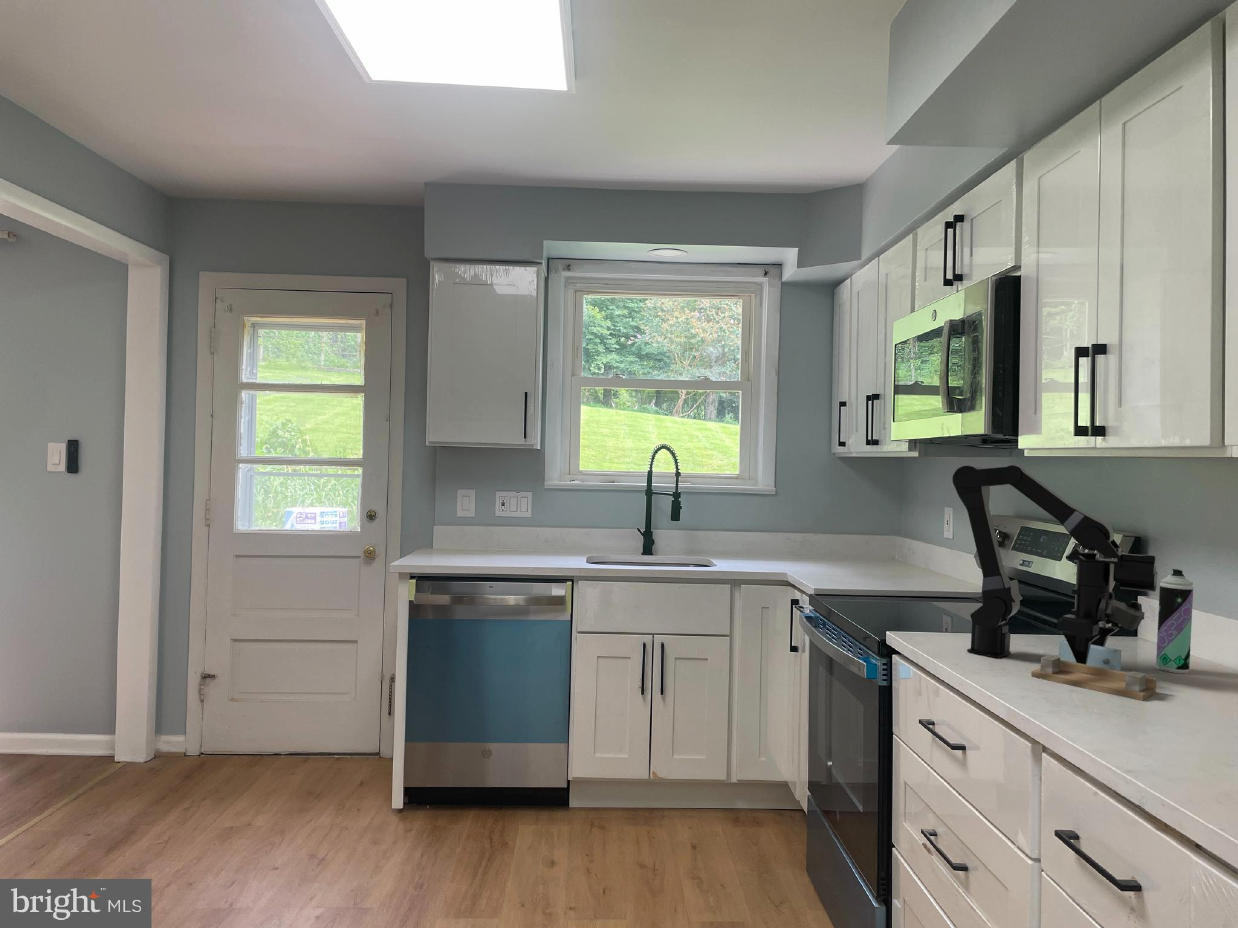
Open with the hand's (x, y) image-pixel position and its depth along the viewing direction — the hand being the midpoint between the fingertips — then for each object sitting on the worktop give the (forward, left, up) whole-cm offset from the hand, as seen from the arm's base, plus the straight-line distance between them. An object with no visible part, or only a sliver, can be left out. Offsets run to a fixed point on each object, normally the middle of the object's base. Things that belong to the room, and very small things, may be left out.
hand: (1088, 665), depth 158 cm
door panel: (0, 0, -1) cm, 1 cm away
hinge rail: (+4, -11, -1) cm, 12 cm away
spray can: (+10, +16, -1) cm, 19 cm away
